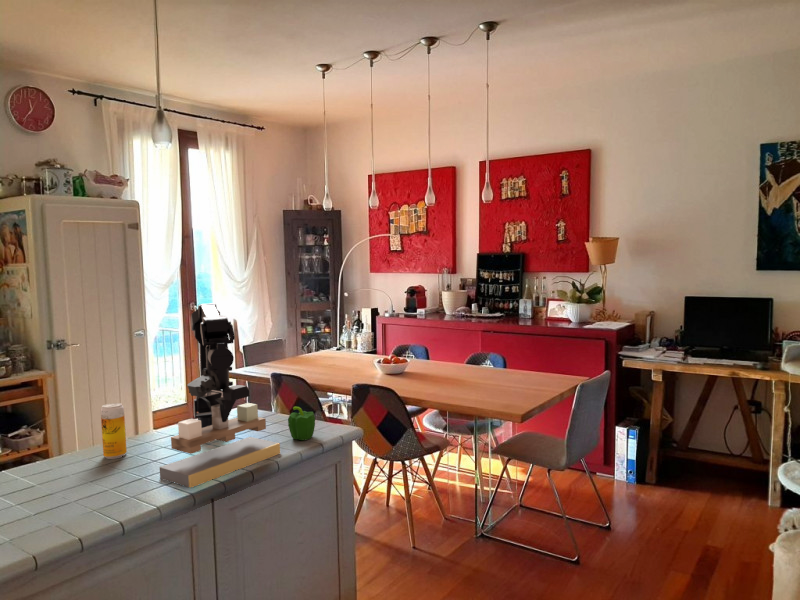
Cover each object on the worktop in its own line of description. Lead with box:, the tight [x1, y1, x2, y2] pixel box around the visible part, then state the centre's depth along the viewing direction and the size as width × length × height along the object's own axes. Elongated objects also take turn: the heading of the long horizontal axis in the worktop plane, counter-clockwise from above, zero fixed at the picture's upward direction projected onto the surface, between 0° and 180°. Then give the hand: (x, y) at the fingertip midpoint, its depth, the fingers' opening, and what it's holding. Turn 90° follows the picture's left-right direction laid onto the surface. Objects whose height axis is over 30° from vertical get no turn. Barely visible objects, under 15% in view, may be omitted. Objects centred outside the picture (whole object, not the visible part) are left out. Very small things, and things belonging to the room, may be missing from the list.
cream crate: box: [177, 418, 202, 440], centre depth 155 cm, size 4×4×4 cm
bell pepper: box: [287, 406, 316, 441], centre depth 186 cm, size 8×8×10 cm
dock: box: [159, 436, 281, 489], centre depth 163 cm, size 13×30×3 cm, turn 145°
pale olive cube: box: [236, 402, 259, 422], centre depth 171 cm, size 4×4×4 cm
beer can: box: [100, 402, 128, 460], centre depth 174 cm, size 6×6×15 cm
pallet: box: [170, 404, 267, 455], centre depth 163 cm, size 8×25×9 cm, turn 145°
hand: (220, 421), depth 163 cm, fingers closed on pallet, 3 cm apart
